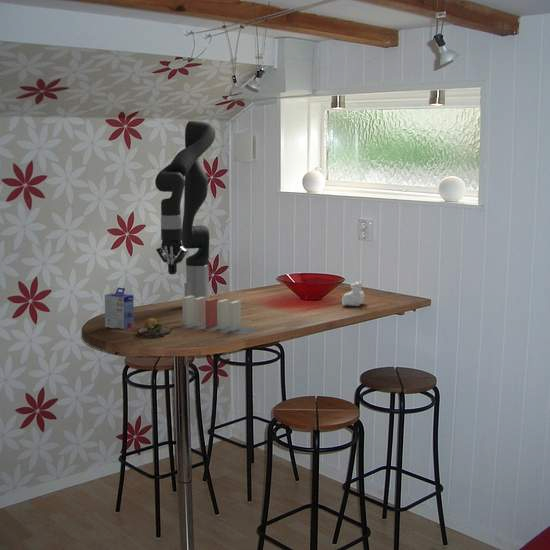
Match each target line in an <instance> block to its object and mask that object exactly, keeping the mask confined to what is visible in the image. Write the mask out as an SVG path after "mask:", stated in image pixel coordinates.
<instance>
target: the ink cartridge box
mask: <svg viewBox="0 0 550 550" xmlns="http://www.w3.org/2000/svg"><path fill="white" fill-rule="evenodd" d="M125 290H126V287H117V288H116V291H115V292H112V293H107V294H104V327H105V328H108V327H109V328H110V329H122V330H126V329H129V328H133V327H135V310H134V309H135V308H134V304H135V301H134V295H133V294H127V293H126V294H125Z"/></svg>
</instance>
